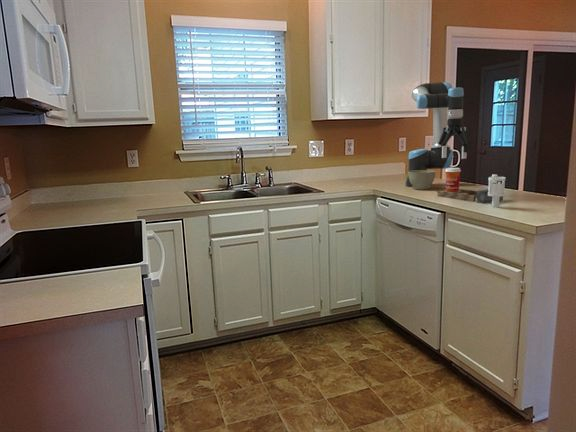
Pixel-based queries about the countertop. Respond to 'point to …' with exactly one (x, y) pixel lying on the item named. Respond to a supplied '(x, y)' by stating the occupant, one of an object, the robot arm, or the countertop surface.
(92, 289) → the countertop surface
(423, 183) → the planter bowl
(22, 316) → the countertop surface
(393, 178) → the countertop surface
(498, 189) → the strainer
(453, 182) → the coffee cup
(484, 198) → the guide channel
